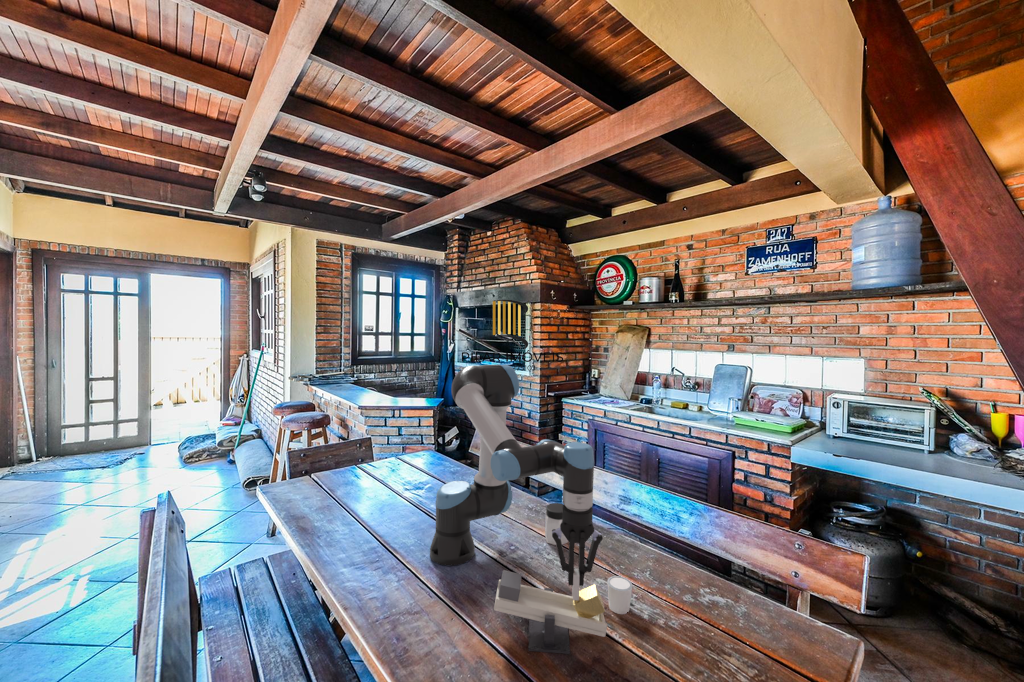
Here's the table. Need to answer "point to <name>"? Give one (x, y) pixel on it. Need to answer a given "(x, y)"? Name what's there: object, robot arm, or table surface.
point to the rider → (589, 603)
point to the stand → (548, 635)
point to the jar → (554, 522)
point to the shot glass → (619, 594)
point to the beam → (543, 605)
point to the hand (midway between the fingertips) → (575, 596)
